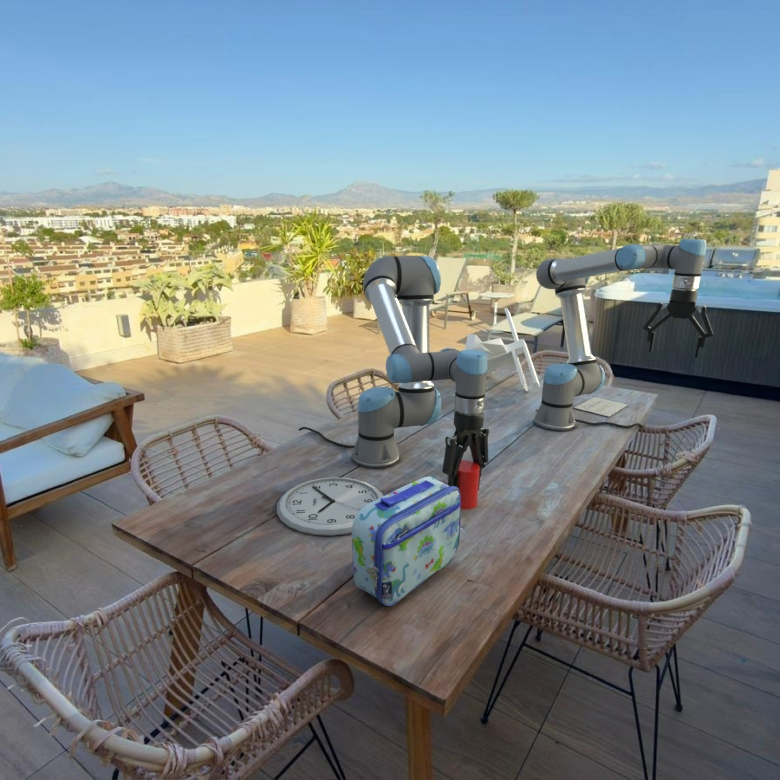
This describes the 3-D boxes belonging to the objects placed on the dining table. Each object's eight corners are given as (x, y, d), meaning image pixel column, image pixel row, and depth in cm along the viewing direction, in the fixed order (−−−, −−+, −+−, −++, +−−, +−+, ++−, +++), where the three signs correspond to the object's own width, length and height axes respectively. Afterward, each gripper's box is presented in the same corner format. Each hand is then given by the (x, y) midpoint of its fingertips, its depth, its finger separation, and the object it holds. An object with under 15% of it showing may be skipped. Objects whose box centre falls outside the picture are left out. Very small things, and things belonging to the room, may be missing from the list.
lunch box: (381, 619, 101) (382, 525, 95) (345, 592, 109) (344, 503, 102) (464, 563, 119) (469, 480, 113) (428, 543, 126) (432, 464, 120)
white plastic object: (474, 420, 264) (452, 397, 239) (456, 347, 286) (434, 319, 261) (545, 396, 252) (530, 369, 227) (521, 322, 274) (504, 290, 249)
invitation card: (608, 416, 214) (573, 407, 224) (608, 416, 214) (573, 408, 224) (628, 404, 229) (594, 396, 238) (628, 405, 229) (594, 397, 238)
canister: (468, 512, 136) (470, 474, 132) (445, 503, 140) (447, 466, 137) (481, 502, 141) (484, 465, 138) (459, 493, 145) (461, 458, 142)
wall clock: (392, 527, 129) (268, 531, 127) (391, 533, 130) (269, 537, 127) (383, 473, 158) (282, 475, 155) (383, 478, 158) (282, 480, 156)
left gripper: (450, 423, 124) (445, 509, 131) (507, 408, 136) (500, 487, 142) (429, 414, 130) (426, 497, 137) (485, 400, 141) (480, 477, 148)
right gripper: (640, 287, 170) (630, 350, 177) (730, 293, 158) (716, 361, 164) (644, 285, 176) (634, 347, 183) (730, 291, 164) (717, 357, 170)
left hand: (464, 492), depth 139 cm, fingers closed on canister, 7 cm apart
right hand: (673, 354), depth 173 cm, fingers open, 13 cm apart
